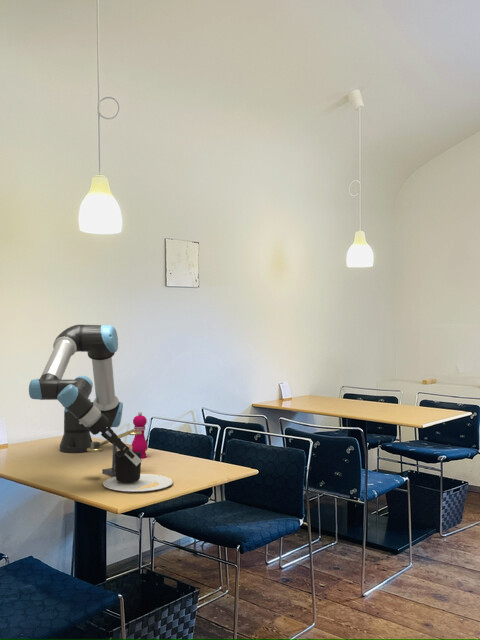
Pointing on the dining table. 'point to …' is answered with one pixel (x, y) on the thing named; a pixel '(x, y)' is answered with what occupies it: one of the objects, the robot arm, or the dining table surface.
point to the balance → (96, 447)
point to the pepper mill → (140, 435)
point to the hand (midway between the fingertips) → (134, 459)
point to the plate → (138, 483)
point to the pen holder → (127, 468)
